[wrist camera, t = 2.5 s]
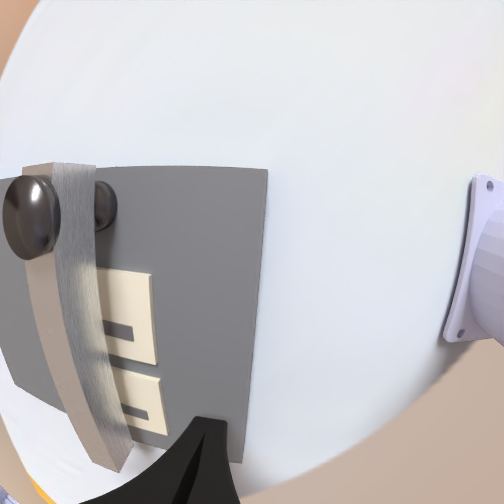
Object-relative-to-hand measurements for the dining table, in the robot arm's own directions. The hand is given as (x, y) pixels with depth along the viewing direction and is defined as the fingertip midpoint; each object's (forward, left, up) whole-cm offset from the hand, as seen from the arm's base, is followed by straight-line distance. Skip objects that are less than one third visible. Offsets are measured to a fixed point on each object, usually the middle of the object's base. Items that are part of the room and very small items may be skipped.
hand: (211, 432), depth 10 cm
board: (+8, -3, -2) cm, 9 cm away
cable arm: (+5, -4, 0) cm, 6 cm away
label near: (+5, -4, -1) cm, 7 cm away
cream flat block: (+5, 0, -2) cm, 6 cm away
